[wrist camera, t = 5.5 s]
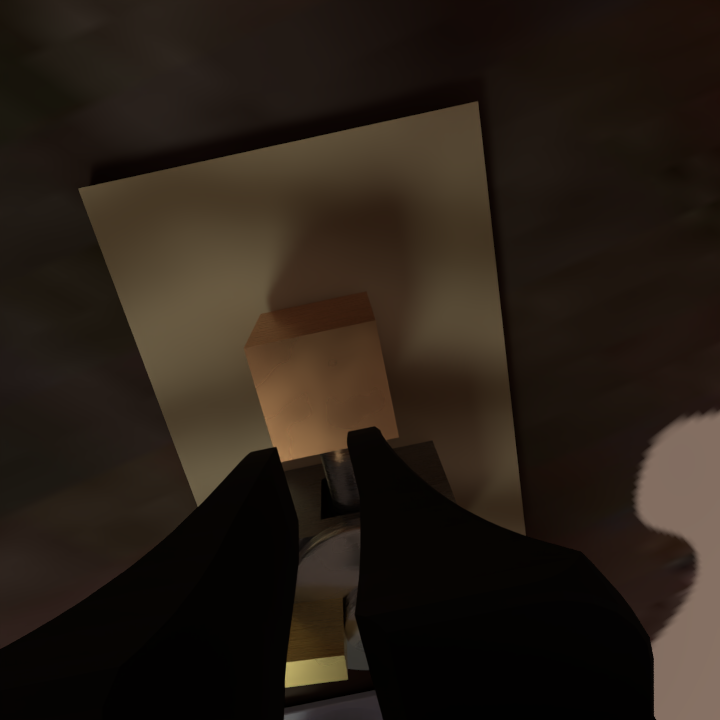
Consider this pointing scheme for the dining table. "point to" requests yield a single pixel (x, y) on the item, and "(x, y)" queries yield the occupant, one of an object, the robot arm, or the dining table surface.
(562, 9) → the dining table surface
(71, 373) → the dining table surface
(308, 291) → the oak board
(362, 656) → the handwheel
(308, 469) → the eye block
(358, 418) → the brown blocky piece
